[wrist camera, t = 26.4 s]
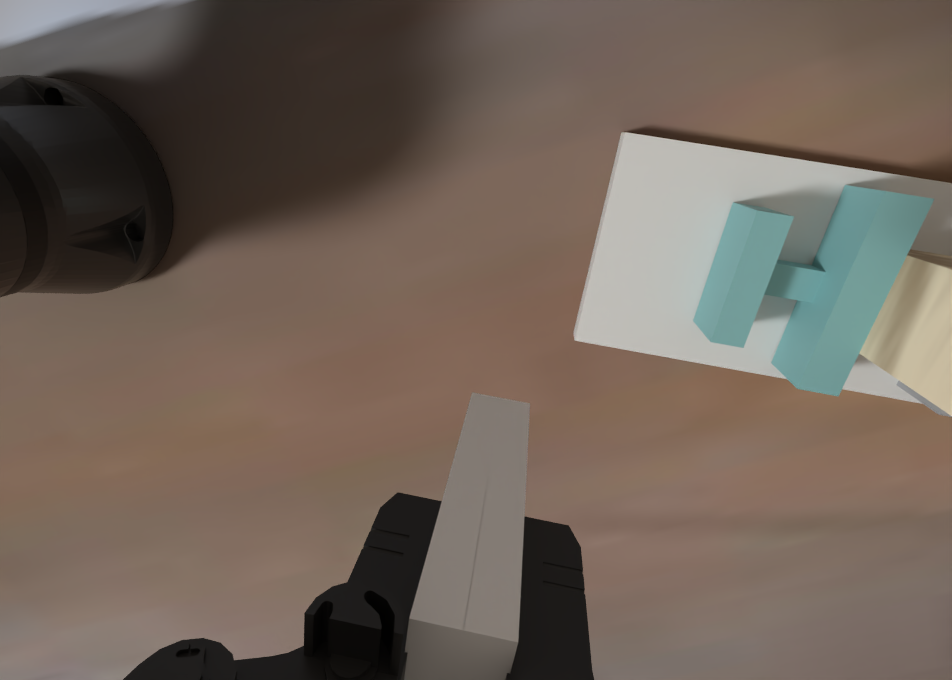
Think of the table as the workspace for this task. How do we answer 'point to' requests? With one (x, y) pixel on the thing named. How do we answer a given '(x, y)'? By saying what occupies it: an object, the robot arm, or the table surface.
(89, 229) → the robot arm
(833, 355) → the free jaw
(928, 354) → the birch block
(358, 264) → the table surface
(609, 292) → the bed
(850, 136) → the table surface
